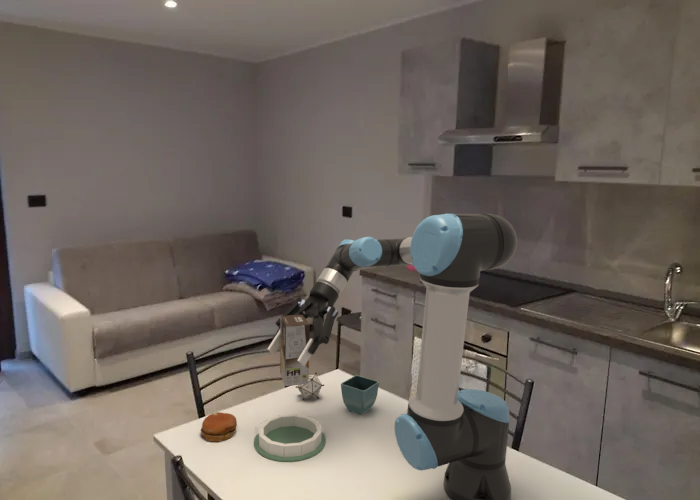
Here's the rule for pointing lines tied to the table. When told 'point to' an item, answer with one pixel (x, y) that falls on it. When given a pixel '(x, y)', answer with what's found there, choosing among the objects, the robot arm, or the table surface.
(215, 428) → the burger
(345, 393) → the flower pot
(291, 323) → the coffee box
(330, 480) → the table surface
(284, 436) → the round green tray
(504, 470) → the robot arm
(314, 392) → the game die
